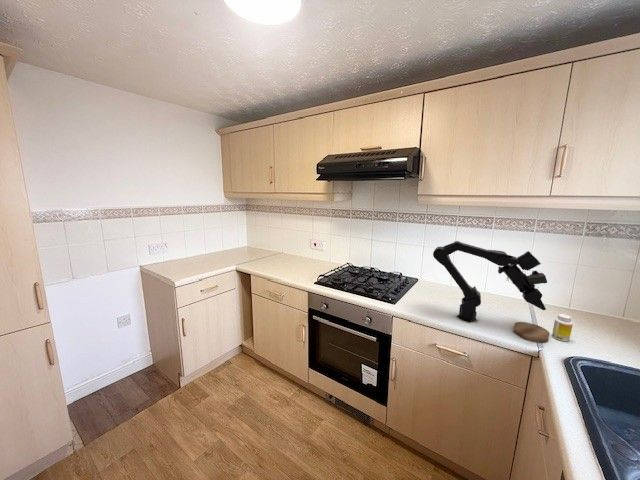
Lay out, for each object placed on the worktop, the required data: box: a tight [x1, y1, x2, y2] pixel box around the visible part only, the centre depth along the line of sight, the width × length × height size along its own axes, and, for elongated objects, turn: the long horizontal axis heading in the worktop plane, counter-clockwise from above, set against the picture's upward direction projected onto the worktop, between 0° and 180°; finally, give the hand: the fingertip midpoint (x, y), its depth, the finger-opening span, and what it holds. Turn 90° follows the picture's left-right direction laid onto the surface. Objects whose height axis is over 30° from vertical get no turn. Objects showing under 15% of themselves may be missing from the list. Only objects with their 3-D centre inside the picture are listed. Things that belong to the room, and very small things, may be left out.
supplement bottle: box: [551, 313, 573, 342], centre depth 111 cm, size 6×6×10 cm
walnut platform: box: [512, 321, 550, 344], centre depth 114 cm, size 12×12×3 cm
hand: (541, 305), depth 114 cm, fingers open, 9 cm apart
